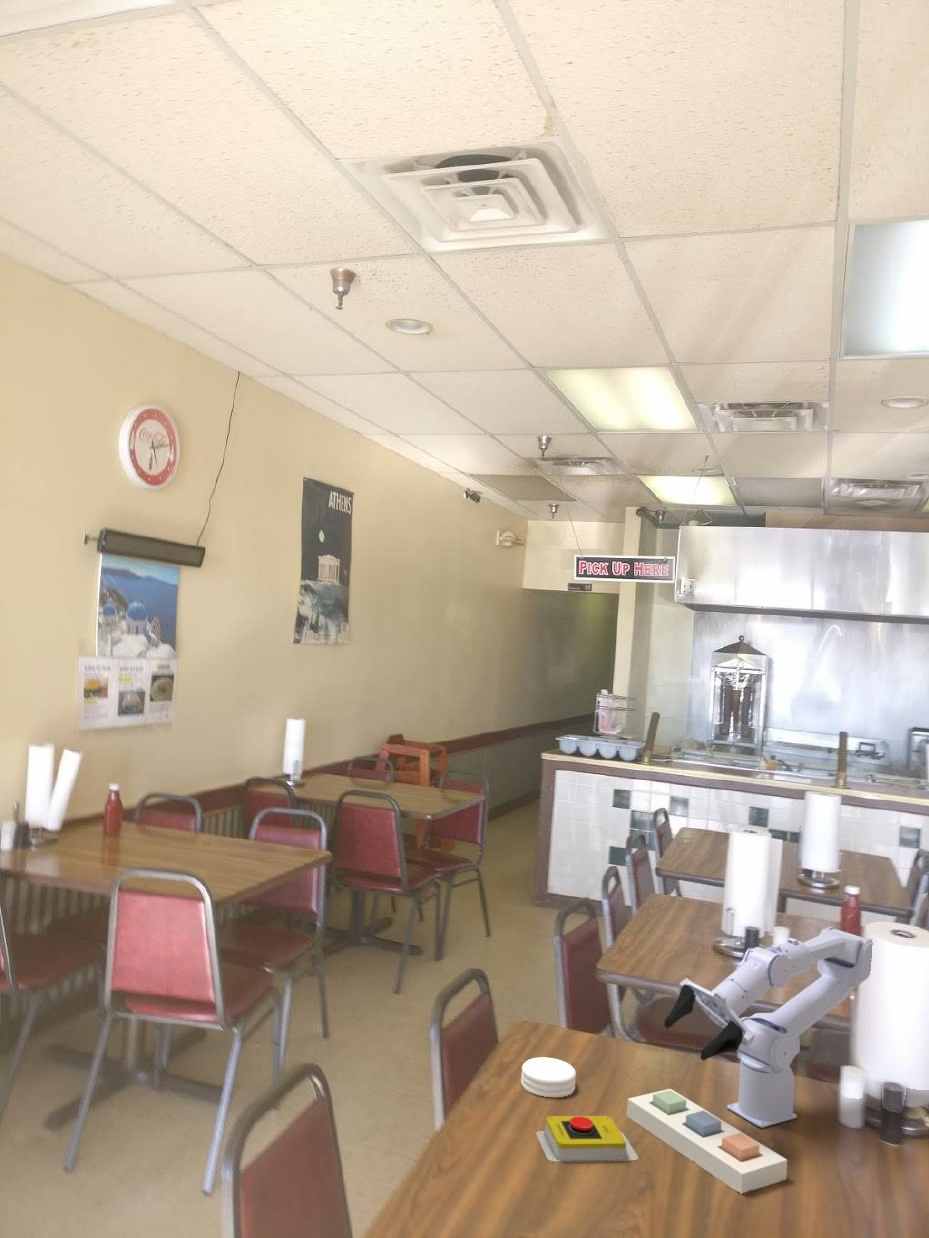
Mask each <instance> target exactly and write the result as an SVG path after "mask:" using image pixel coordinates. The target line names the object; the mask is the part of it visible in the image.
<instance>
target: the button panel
mask: <svg viewBox="0 0 929 1238" xmlns="http://www.w3.org/2000/svg"><path fill="white" fill-rule="evenodd" d="M669 1090H671V1091H672V1092H674V1093H675V1094H677V1095H679V1096H680V1097H682V1098H684V1099H685V1100H686V1111H684V1112H680V1113H676V1114H672V1115H667V1114H666V1113H664V1112H662V1111H661V1110H659V1109H658V1108H656V1107H655V1106H653V1105H652V1103H653V1094H656V1093H661V1092H665V1091H669ZM700 1111H705V1112H707V1113H708V1114H710V1115H711V1116H713V1117H715V1118H716V1119H718V1120H720V1121H721V1133H719V1134H715V1135H712V1136H708V1137H704V1138H703V1137H701V1136H700V1135H698V1134H697V1133H695V1132H693V1131H692V1130H690V1129H689V1128H687V1127H686V1126H685V1125H686V1115H689V1114H693V1113H696V1112H700ZM626 1117H627V1118H629V1119H630V1120H631V1121H633V1122H634V1123H636V1124H638V1125H639V1126H640V1127H642V1128H643V1129H644V1130H646V1131H647V1132H649V1133H651V1134H652V1135H653V1136H655V1137H656V1138H658V1139H660V1140H661V1141H662V1142H664V1143H665V1144H667V1145H668V1146H670V1147H671V1148H672V1149H674V1150H675V1151H677V1152H678V1153H680V1155H683V1156H684V1157H685V1158H687V1159H689V1160H690V1161H691V1162H693V1161H694V1162H695V1163H694V1162H693V1163H694V1164H696V1165H697V1166H699V1167H700V1168H702V1169H703V1170H705V1171H706V1172H707V1173H709V1174H710V1173H711V1174H710V1175H712V1176H713V1177H715V1178H716V1179H717V1180H719V1181H721V1182H722V1183H724V1184H725V1185H726V1186H728V1187H730V1188H731V1189H733V1191H735V1190H736V1191H735V1192H737V1191H738V1192H740V1193H741V1194H740V1193H739V1194H740V1195H743V1194H742V1193H744V1192H747V1191H749V1190H753V1191H755V1190H754V1189H756V1190H758V1188H759V1189H762V1188H765V1187H767V1186H770V1184H771V1185H774V1184H777V1183H780V1182H783V1181H785V1180H787V1172H788V1171H787V1170H788V1159H786V1158H785V1157H783V1156H782V1155H780V1154H779V1153H778V1152H775V1151H773V1150H772V1149H770V1148H769V1147H767V1146H765V1145H764V1144H762V1143H760V1142H759V1141H757V1140H755V1139H754V1138H753V1137H751V1136H749V1135H747V1134H745V1133H744V1132H742V1131H741V1130H739V1129H737V1128H736V1127H734V1126H732V1125H731V1124H729V1123H727V1122H725V1120H722V1119H721V1118H720V1117H718V1116H716V1115H715V1114H713V1113H711V1112H709V1111H708V1110H707V1109H705V1108H703V1107H701V1106H699V1105H698V1104H696V1103H695V1102H693V1101H691V1100H690V1099H689V1098H686V1096H683V1095H681V1094H680V1093H679V1092H676V1091H675V1090H673V1089H671V1088H667V1089H663V1090H659V1091H655V1092H654V1091H653V1092H651V1093H646V1094H643V1095H641V1094H640V1095H638V1096H633V1097H628V1098H627V1106H626ZM738 1133H741V1134H742V1135H744V1136H746V1137H747V1138H749V1139H751V1140H752V1141H754V1142H756V1143H757V1144H759V1157H757V1158H754V1159H750V1160H747V1161H744V1162H740V1161H738V1160H737V1159H735V1158H734V1157H732V1156H731V1155H729V1154H728V1153H726V1152H724V1151H723V1150H722V1138H724V1137H727V1136H731V1135H734V1134H738ZM782 1180H783V1181H782ZM760 1187H761V1188H760ZM738 1192H737V1193H738ZM747 1193H748V1192H747ZM744 1194H745V1193H744Z"/></svg>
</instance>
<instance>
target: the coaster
mask: <svg viewBox="0 0 929 1238" xmlns="http://www.w3.org/2000/svg"><path fill="white" fill-rule="evenodd" d="M520 1075H521V1079H520V1083H521V1086H522V1088H523V1089H524V1090H525V1091H527V1092H528V1093H530V1092H531V1093H530V1094H532V1093H533V1094H532V1095H534V1094H536V1095H535V1096H537V1095H539V1096H538V1097H541V1096H544V1097H543V1098H546V1097H562V1098H565V1097H564V1096H566V1097H569V1096H571V1095H572V1094H573V1093H574V1091H575V1090H576V1080H577V1079H576V1076H577V1072H576V1069H575V1068H574V1067H573V1066H572V1064H570V1063H568V1062H567V1061H564V1060H561V1059H558V1058H554V1057H546V1056H545V1057H543V1056H541V1057H534V1058H530V1059H527V1060H526V1061H524V1062H523V1064H522V1066H521V1074H520ZM568 1095H569V1096H568Z"/></svg>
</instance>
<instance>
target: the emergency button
mask: <svg viewBox="0 0 929 1238" xmlns="http://www.w3.org/2000/svg"><path fill="white" fill-rule="evenodd" d="M535 1136H536V1138H537V1141H539V1144H540V1146H541V1148H542V1150H543V1153H544V1155H545V1157H546V1159H547V1161H549V1162H551V1163H586V1162H589V1163H590V1162H593V1163H595V1162H597V1163H598V1161H601V1162H635V1161H638V1160H639V1156H638V1155H637V1153H636V1151H635V1150H634V1148H633V1146H632V1145H631V1143H630V1142H629V1140H628V1139H627V1136H625V1134H624V1132H622V1131H620V1129H619V1128H618V1127H617V1125H616V1123H615V1122H614V1120H613V1118H612V1117H610V1116H609V1115H572V1116H571V1115H560V1116H559V1115H555V1116H554V1115H553V1116H552V1115H549V1116H546V1120H545V1127H544V1130H541V1131H540V1130H539V1131H537V1132H536V1134H535ZM594 1161H595V1162H594Z"/></svg>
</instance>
